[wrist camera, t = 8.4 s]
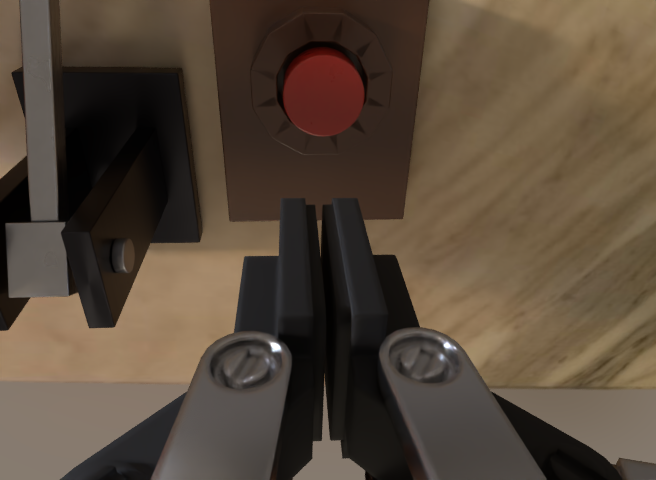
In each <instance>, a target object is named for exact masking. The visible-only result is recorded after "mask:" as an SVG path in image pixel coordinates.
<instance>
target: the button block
mask: <svg viewBox="0 0 656 480" xmlns="http://www.w3.org/2000/svg"><path fill="white" fill-rule="evenodd" d="M428 6H429V0H210V10H211V21H212V32H213V43H214V54H215V65H216V76H217V87H218V98H219V109H220V120H221V131H222V142H223V153H224V164H225V175H226V186H227V197H228V208H229V219H230V221H231V222H235V221H280V198H305V201H306V205H315V208H316V218H317V220H322V206H323V205H331V203H332V198H357V199H358V202H359V206H360V209H361V213H362V217H363V220H373V219H403V216H404V207H405V199H406V190H407V182H408V174H409V165H410V157H411V148H412V140H413V132H414V123H415V115H416V107H417V98H418V90H419V81H420V73H421V65H422V56H423V48H424V40H425V31H426V23H427V14H428ZM316 47H328V48H333V49H335V50H338V51H340V52H342V53H343V54H345V55H346V56H347V57H348V58H349V59H350V60H351V61H352V62H353V64H354V65H355V67H356V69H357V71H358V73H359V75H360V77H361V80H362V82H363V86H364V92H365V98H364V104H363V108H362V110H361V113H360V115H359V116H358V118H357V119H356V121H355V122H354V123H353V124H352V125H351V126H350V127H349V128H347V129H346V130H344V131H343V132H341V133H338V134H336V135H332V136H324V137H322V136H314V135H311V134H308V133H306V132H303V131H302V130H300V129H299V128H298V127H296V126H295V125H294V124H293V123H292V121H291V120H290V119H289V117H288V115H287V113H286V111H285V108H284V104H283V80H284V75H285V72H286V70H287V68H288V66H289V65H290V63H291V62H292V61H293V60H294V58H296V57H297V56H298V55H299V54H301V53H302V52H304V51H306V50H308V49H311V48H316Z"/></svg>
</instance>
